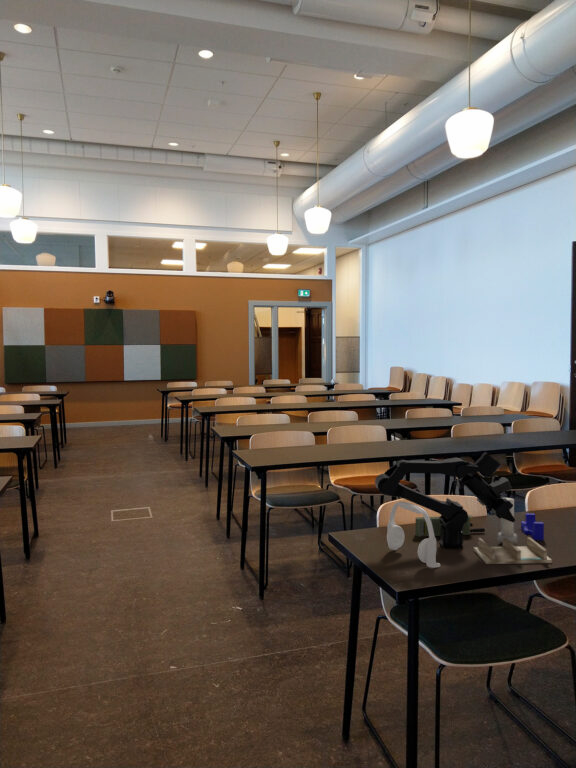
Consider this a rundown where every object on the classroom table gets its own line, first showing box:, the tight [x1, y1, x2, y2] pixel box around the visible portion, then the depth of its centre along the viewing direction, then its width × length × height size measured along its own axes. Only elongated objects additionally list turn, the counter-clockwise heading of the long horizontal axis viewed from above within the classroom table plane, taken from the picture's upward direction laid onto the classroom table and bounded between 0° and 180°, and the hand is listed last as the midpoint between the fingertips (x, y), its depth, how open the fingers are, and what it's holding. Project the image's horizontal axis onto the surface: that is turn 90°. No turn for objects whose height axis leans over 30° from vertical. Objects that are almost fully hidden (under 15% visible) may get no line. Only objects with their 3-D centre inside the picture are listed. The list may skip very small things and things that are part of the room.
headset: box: [386, 501, 441, 569], centre depth 176 cm, size 20×7×18 cm, turn 28°
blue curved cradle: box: [520, 512, 545, 541], centre depth 198 cm, size 12×4×6 cm, turn 171°
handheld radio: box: [414, 514, 486, 538], centre depth 200 cm, size 7×3×25 cm
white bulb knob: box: [497, 497, 518, 544], centre depth 188 cm, size 6×6×14 cm
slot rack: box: [473, 536, 553, 565], centre depth 178 cm, size 20×12×4 cm, turn 90°
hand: (511, 519), depth 188 cm, fingers closed on white bulb knob, 4 cm apart
